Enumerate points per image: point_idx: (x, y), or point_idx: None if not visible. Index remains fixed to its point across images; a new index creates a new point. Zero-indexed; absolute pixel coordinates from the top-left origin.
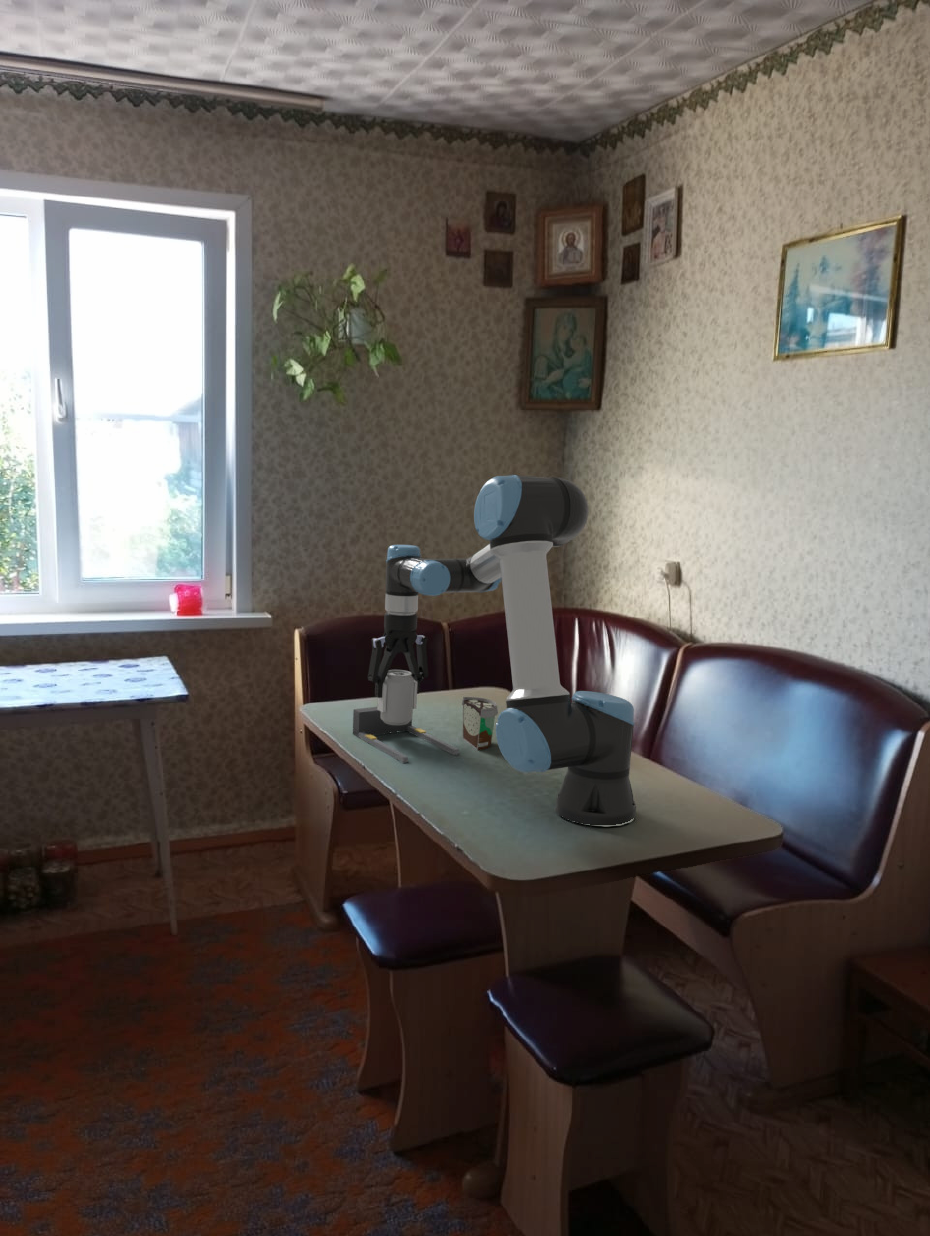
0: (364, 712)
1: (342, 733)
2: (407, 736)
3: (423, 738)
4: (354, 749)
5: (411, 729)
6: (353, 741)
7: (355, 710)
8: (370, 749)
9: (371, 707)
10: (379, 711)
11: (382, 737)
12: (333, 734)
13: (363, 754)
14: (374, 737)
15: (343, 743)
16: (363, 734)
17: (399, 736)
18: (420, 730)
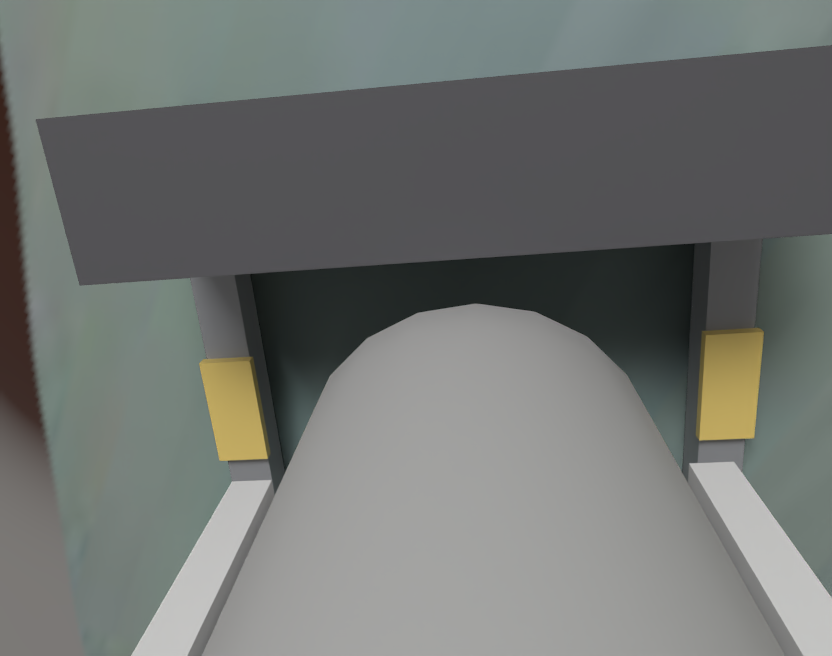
0: (151, 278)
1: (89, 59)
2: (607, 335)
3: (685, 452)
4: (92, 484)
5: (704, 270)
6: (129, 314)
7: (53, 176)
8: (200, 518)
9: (302, 101)
10: (360, 263)
11: (392, 292)
12: (3, 64)
13: (126, 587)
14: (251, 448)
15: (43, 336)
16: (203, 309)
17: (542, 313)
18: (723, 400)
